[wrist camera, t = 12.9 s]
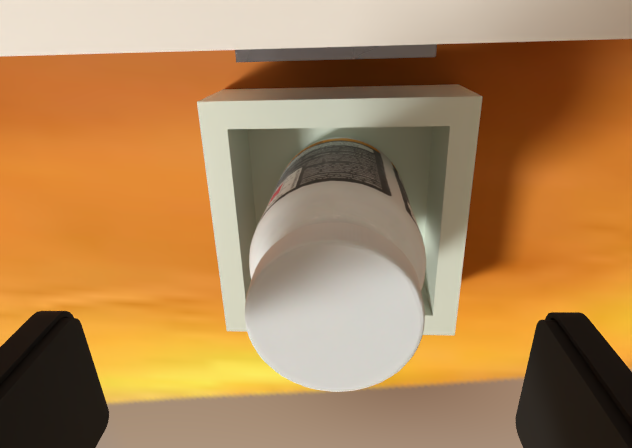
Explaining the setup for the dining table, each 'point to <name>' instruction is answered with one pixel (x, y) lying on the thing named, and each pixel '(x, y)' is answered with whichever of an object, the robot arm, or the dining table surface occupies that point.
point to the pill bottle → (337, 270)
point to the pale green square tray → (353, 122)
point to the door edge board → (299, 26)
